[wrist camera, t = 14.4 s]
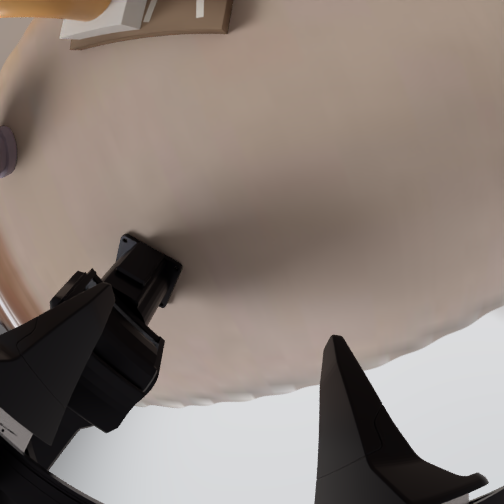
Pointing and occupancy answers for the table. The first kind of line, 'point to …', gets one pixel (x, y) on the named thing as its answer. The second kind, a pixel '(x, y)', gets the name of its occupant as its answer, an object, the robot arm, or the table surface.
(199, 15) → the walnut board
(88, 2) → the rubber stamp
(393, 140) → the table surface
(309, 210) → the table surface
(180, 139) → the table surface
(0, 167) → the grey stacked rounded piece
